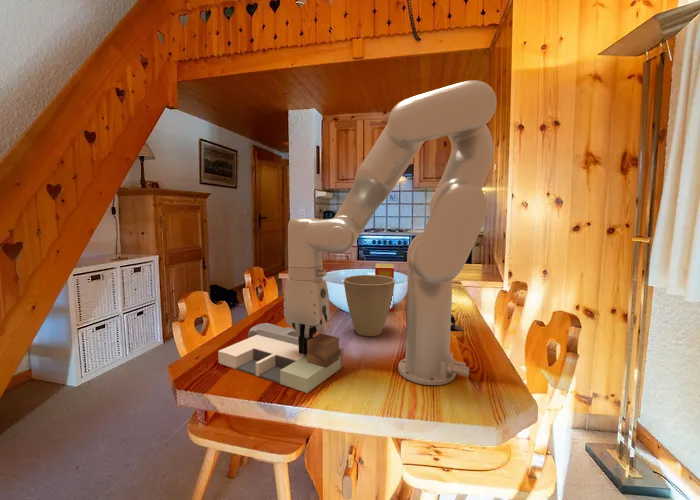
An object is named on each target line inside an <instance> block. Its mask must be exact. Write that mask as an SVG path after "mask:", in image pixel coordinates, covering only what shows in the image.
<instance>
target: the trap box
mask: <svg viewBox="0 0 700 500" xmlns="http://www.w3.org/2000/svg"><path fill="white" fill-rule="evenodd" d="M343 351H344V348H343V347H340V346H339V360H337V361H336V362H334V363H333V364H331V365H330V366H328V367H327V368H325V367H321V366H318V365H314V364H311V363H307V354H306V355H303V354H300V353H299V343H298V336H297V337H294V336H290V335H286V334H282V333H278V332H274V331H270V330H266V329H262V328H259V329H257V335H255V336H253V337H250V338H245V339H243V340H241V341H239V342H236V343H233V344H231V345H229V346H226V347H224V348H222V349H219V350H218V351H217V353H218V354H217V355H218V357H217V358H218V364H220V365H223V366H226V367H229V368H232V369H235V370H238V371H240V372H243V373H247V374H249V375H252V376H255V377H259V378H262V379H265V380H267V381H270V382H273V383H276V384H279V385H283V386H286V387H288V388H291V389H294V390H297V391H299V392H303V393H306V394H308V393H310V392H311V391H312V390H314V388H316V387H318V386H319V385H320V384H322V382H324V381H326V380H327V379H328V378H329V377H331V376H332V375H334V374H335V373H337V372H338V371H339V370H341V369H342V368H343V365H344V364H343V363H344V361H343V357H344V355H343V354H344V352H343Z"/></svg>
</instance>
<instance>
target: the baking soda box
mask: <svg viewBox="0 0 700 500" xmlns="http://www.w3.org/2000/svg"><path fill="white" fill-rule="evenodd" d="M374 268H375V269H374V273H375V274H374V275H379V276H386V277H391V278H393V279H395V278H394V277H395V275H394V274H395V264H394V263H375V267H374ZM389 312H392V313H394V306H393V307H392V308H391V309H389Z"/></svg>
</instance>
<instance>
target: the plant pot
mask: <svg viewBox="0 0 700 500" xmlns="http://www.w3.org/2000/svg"><path fill="white" fill-rule="evenodd" d="M395 283H396V280H395V278H394V279H393V278H391V277H386V276H379V275H375V274H373V275H372V274H361V275H360V274H358V275H357V274H356V275H349V276H347V277H345V278H343V285H344V293H345V298H346V299H345V300H346V304H347V308H348V311H349V315H350V319H351V321H352V324H353V327H354V330H355V332H356V334H358V335H359V336H362V337H376V336H380V335H381V333H382V332H383V330H384V326H385V324H386V321H387V319H388V315H389V312H390V311H389V309H390V305H391V301H392V296H393V297H394V291H395Z"/></svg>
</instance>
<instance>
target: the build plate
mask: <svg viewBox="0 0 700 500" xmlns="http://www.w3.org/2000/svg"><path fill="white" fill-rule="evenodd" d="M450 332H465V330H464V329H463V327H462V326H461V325H458V324H456V319H455V316H454V314H452V313H451V328H450Z"/></svg>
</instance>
